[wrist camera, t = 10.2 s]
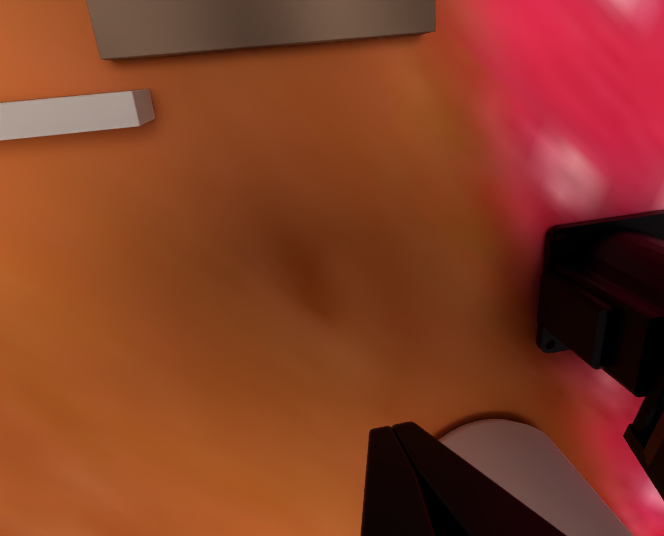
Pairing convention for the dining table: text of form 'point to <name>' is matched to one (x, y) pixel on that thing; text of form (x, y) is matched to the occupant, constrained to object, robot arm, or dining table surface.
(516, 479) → the alcohol
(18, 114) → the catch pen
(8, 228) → the dining table surface
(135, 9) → the board
